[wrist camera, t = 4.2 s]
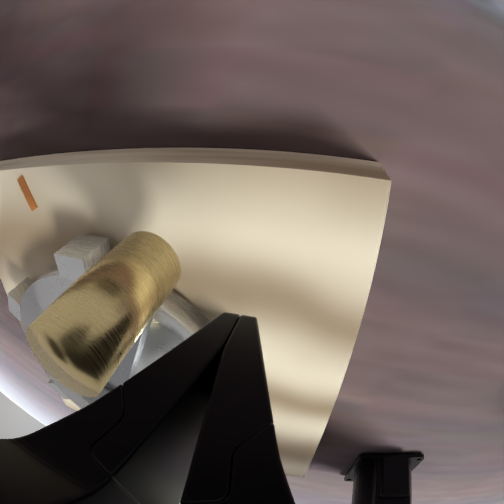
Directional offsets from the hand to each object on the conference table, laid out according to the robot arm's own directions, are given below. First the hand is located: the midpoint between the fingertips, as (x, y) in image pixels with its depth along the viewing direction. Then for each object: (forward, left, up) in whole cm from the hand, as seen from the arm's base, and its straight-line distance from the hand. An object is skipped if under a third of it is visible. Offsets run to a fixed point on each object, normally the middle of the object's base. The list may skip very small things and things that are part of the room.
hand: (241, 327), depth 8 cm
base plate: (-9, +8, -8) cm, 14 cm away
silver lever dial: (-9, +8, -4) cm, 13 cm away
